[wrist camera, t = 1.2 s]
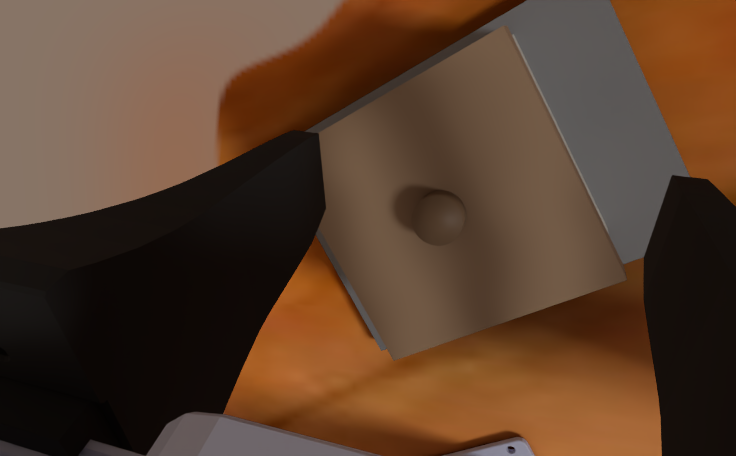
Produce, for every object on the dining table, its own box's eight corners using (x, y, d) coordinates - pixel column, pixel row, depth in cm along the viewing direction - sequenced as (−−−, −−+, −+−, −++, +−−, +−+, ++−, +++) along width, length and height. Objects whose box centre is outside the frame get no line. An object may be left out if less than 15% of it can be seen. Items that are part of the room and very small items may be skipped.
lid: (402, 344, 27) (387, 372, 25) (293, 149, 26) (267, 160, 24) (623, 265, 23) (629, 290, 21) (507, 25, 22) (500, 25, 19)
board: (386, 342, 34) (381, 350, 33) (277, 148, 32) (269, 152, 31) (709, 224, 27) (715, 231, 26) (590, -36, 25) (592, -39, 24)
